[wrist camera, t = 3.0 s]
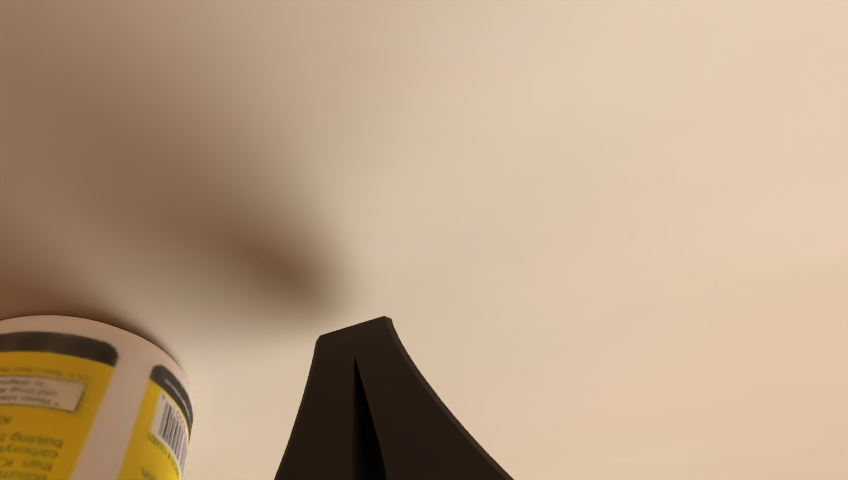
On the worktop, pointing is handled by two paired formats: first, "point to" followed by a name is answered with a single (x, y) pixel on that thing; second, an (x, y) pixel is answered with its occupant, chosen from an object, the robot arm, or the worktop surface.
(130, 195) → the worktop surface
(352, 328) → the robot arm
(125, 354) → the supplement bottle
